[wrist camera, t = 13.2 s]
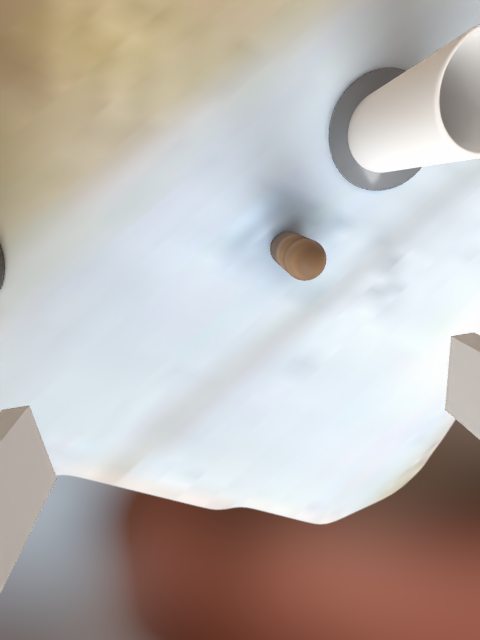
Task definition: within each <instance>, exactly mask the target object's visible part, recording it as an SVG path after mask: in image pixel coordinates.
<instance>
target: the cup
mask: <svg viewBox="0 0 480 640" xmlns="http://www.w3.org/2000/svg"><path fill="white" fill-rule="evenodd" d="M348 144H349V148H350V151H351V153H352V155H353V157H354V159H355V160H356V161H357V163H358V164H359V165H360V166H362V167H363V168H365V169H367V170H369V171H372V172H377V173H384V172H391V171H397V170H404V169H410V168H417V167H423V166H430V165H437V164H443V163H450V162H456V161H463V160H469V159H476V158H480V24H479V25H477V26H476V27H474V28H472V29H471V30H469V31H467V32H466V33H464V34H463V35H461V36H460V37H458V38H456V39H455V40H453V41H452V42H450V43H449V44H447V45H446V46H444V47H443V48H441V49H439V50H438V51H436V52H435V53H433V54H432V55H430V56H429V57H427V58H425V59H424V60H422V61H421V62H419V63H418V64H416V65H415V66H413V67H412V68H410V69H408V70H407V71H405V72H404V73H402V74H401V75H399V76H398V77H396V78H395V79H393V80H391V81H390V82H388V83H387V84H385V85H384V86H382V87H381V88H379V89H377V90H376V91H374V92H373V93H371V94H370V95H368V96H367V97H366V98H365V99H363V100H362V101H361V102H360V104H359V105H358V106H357V108H356V109H355V111H354V113H353V115H352V117H351V120H350V123H349V128H348Z"/></svg>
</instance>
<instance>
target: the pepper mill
mask: <svg viewBox="0 0 480 640" xmlns="http://www.w3.org/2000/svg"><path fill="white" fill-rule="evenodd" d="M270 251H271V255H272V257H273V259H274V260H275V261H276V262H277V263H278V264H279V265H280V266H281V267H282V268H283V269H285V270H286V271H287V272H288V273H289V274H290V275H291V276H293V277H294V278H296V279H298V280H304V281H305V280H311V279H314V278H316V277H317V276H318V275H320V274H321V272H322V271H323V270H324V267H325V265H326V253H325V251H324V249H323V247H322V246H321V245H320V244H319V243H318V242H316V241H314V240H312V239H309V238H306V237H304V236H301V235H298V234H296V233H293V232H283V233H280V234H278V235H277V236H276V237H275V238H274V239H273V241H272V243H271V248H270Z"/></svg>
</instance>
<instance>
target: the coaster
mask: <svg viewBox="0 0 480 640" xmlns="http://www.w3.org/2000/svg"><path fill="white" fill-rule="evenodd" d="M404 72H405V70H402V69H397V68H383V69H378V70H375V71H372V72H370V73H368V74H366V75H364V76H362V77H361V78H359V79H358V80H357V81H355V82H354V83H353V84H352V85H351V86H350V87H349V88H348V89H347V90H346V91H345V92H344V94H343V95H342V97H341V98H340V100H339V101H338V103H337V105H336V107H335V110H334V112H333V115H332V118H331V122H330V128H329V146H330V152H331V155H332V158H333V161H334V163H335V165H336V167H337V169H338V170H339V172H340V173H341V174H342V175H343V177H344V178H345V179H347V180H348V181H349V182H350V183H352V184H353V185H355V186H357V187H359V188H362V189H366V190H373V191H375V190H387V189H391V188H394V187H397V186H399V185H401V184H403V183H405V182H406V181H408V180H409V179H410V178H412V177H413V176H414V175H415V174H416V173H417V172H418V171H419V170H420V169H421V167H417V168H410V169H404V170H397V171H391V172H384V173H377V172H372V171H369V170H367V169H365V168H363V167H362V166H360V165H359V164H358V163H357V161H356V160H355V159H354V157H353V155H352V153H351V151H350V148H349V144H348V128H349V123H350V120H351V117H352V115H353V113H354V111H355V109H356V108H357V106H358V105H359V104H360V102H361V101H362V100H363V99H365V98H366V97H367V96H368V95H370V94H371V93H373V92H374V91H376V90H377V89H379V88H381V87H382V86H384V85H385V84H387V83H388V82H390V81H391V80H393V79H395V78H396V77H398V76H399V75H401V74H402V73H404Z"/></svg>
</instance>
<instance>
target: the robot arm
mask: <svg viewBox="0 0 480 640" xmlns="http://www.w3.org/2000/svg"><path fill="white" fill-rule="evenodd" d="M4 270H5V266H4V257H3V252H2V248H1V245H0V289H1V286H2V283H3V279H4ZM445 410H446V411H447V412H448V413H449V414H451V415H452V416H453V417H454V418H455V419H456V420H458V421H459V422H460V423H461V424H462V425H463V426H464V427H466V428H467V429H468V430H469V431H470V432H471V433H473V434H474V435H475V436H476V437H477V438H479V439H480V335H478V334H476V333H469V334H462V335H456V336H451V346H450V357H449V369H448V381H447V393H446V404H445ZM56 479H57V478H56V475H55V472H54V470H53V467H52V464H51V462H50V459H49V456H48V454H47V451H46V448H45V446H44V443H43V441H42V438H41V435H40V433H39V430H38V427H37V425H36V422H35V419H34V417H33V414H32V411H31V409H30V406H23V407H17V408H11V409H5V410H2V411H1V412H0V593H1V591H2V589H3V587H4V585H5V583H6V581H7V579H8V577H9V575H10V573H11V571H12V569H13V567H14V565H15V563H16V560H17V559H18V557H19V555H20V552H21V551H22V548H23V546H24V544H25V542H26V540H27V538H28V536H29V534H30V532H31V530H32V528H33V526H34V524H35V522H36V520H37V518H38V516H39V514H40V512H41V510H42V508H43V506H44V504H45V502H46V500H47V498H48V496H49V494H50V492H51V490H52V488H53V486H54V483H55V482H56Z"/></svg>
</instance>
